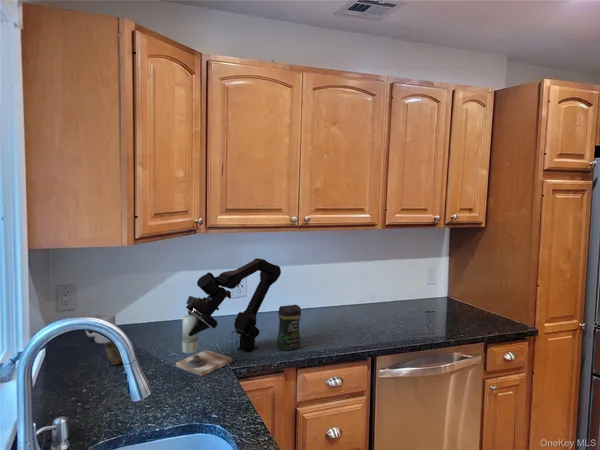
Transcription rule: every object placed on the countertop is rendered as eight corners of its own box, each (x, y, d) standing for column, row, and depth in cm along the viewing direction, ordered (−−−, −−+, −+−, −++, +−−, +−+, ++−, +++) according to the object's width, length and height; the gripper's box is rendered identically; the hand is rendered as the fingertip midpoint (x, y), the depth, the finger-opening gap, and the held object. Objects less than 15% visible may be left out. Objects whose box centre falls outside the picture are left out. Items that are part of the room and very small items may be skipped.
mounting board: (206, 353, 182) (206, 342, 181) (231, 361, 174) (232, 350, 174) (175, 366, 169) (175, 354, 168) (201, 376, 161) (201, 363, 160)
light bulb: (190, 345, 172) (190, 313, 171) (201, 349, 169) (200, 316, 168) (179, 350, 168) (178, 317, 166) (189, 354, 164) (189, 320, 163)
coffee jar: (282, 352, 185) (283, 309, 183) (274, 346, 192) (275, 304, 190) (303, 348, 190) (304, 306, 188) (294, 342, 196) (295, 301, 194)
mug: (112, 335, 199) (112, 311, 198) (118, 340, 193) (117, 316, 192) (83, 340, 192) (83, 316, 191) (88, 346, 185) (88, 321, 184)
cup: (120, 358, 175) (120, 338, 174) (130, 363, 170) (130, 343, 169) (101, 363, 169) (101, 343, 168) (111, 369, 165) (111, 348, 164)
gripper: (190, 283, 176) (163, 314, 171) (209, 294, 160) (180, 328, 155) (209, 299, 181) (183, 330, 176) (229, 311, 166) (201, 345, 161)
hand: (186, 333), depth 167 cm, fingers closed on light bulb, 5 cm apart
